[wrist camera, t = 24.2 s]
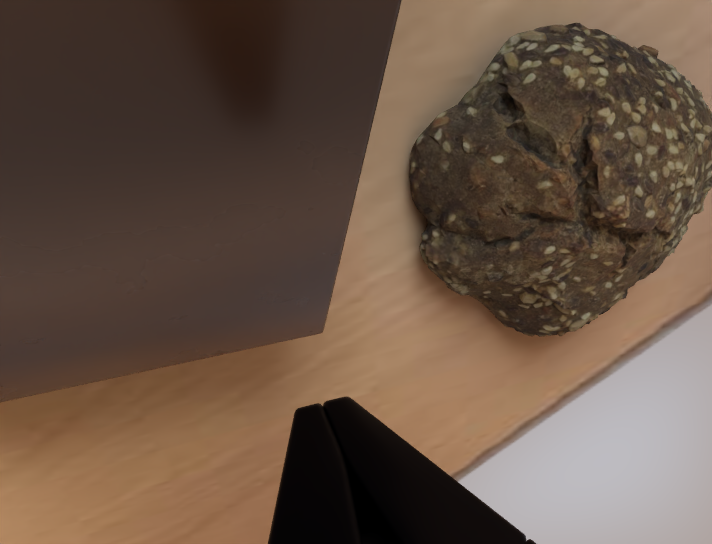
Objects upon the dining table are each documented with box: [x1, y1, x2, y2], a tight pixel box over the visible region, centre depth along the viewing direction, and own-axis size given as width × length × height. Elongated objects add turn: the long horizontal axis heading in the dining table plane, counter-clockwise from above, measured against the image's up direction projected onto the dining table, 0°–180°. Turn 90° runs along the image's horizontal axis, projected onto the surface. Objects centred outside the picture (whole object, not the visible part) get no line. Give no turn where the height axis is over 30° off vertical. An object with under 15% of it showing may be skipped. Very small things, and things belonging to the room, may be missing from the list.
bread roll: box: [410, 23, 712, 337], centre depth 20 cm, size 13×12×5 cm
